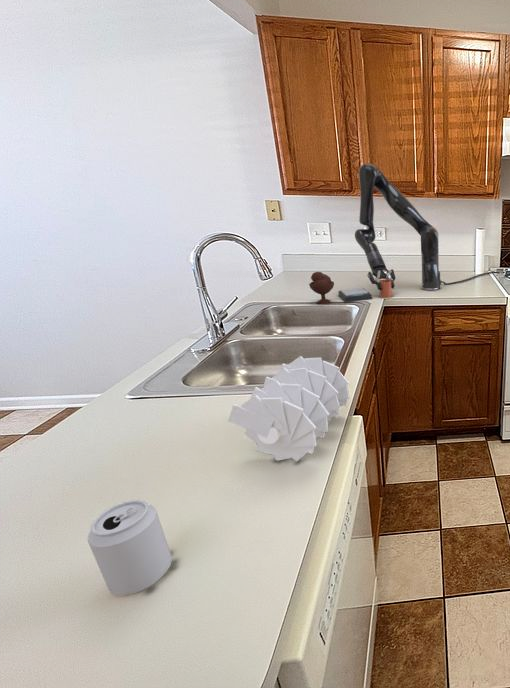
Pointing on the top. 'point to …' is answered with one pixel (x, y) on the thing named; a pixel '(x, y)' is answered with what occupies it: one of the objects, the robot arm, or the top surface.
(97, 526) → the can
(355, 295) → the scale
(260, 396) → the spiral staircase
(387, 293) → the cup
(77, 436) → the top surface
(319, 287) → the ice cream bowl
